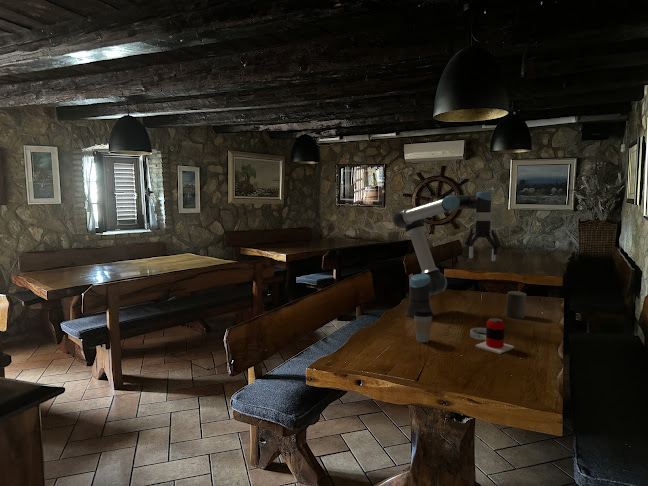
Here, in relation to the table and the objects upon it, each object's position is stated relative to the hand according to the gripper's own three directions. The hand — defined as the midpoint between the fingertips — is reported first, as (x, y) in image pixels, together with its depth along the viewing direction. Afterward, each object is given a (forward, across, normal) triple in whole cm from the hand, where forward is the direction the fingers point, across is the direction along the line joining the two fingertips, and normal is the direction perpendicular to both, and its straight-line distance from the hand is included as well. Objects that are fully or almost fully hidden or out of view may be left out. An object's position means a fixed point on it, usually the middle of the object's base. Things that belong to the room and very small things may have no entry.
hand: (482, 259), depth 234 cm
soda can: (+34, -27, +31) cm, 53 cm away
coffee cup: (+35, 0, +49) cm, 60 cm away
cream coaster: (+35, -27, +31) cm, 54 cm away
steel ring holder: (+35, -15, +21) cm, 43 cm away
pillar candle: (+35, -7, -25) cm, 43 cm away
